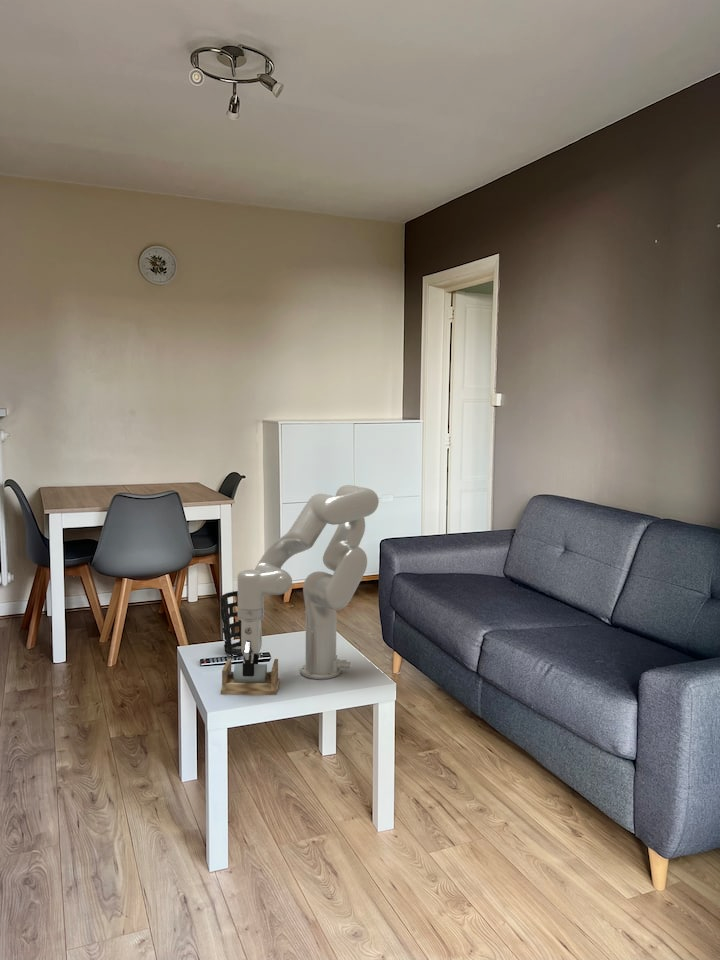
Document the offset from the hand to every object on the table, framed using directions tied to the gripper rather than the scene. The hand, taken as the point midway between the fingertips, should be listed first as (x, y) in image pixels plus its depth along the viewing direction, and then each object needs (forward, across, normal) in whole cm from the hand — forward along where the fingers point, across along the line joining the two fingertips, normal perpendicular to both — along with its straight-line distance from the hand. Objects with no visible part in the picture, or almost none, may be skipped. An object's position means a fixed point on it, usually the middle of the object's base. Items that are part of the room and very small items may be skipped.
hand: (250, 669), depth 212 cm
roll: (+4, 0, 0) cm, 4 cm away
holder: (+6, +31, +10) cm, 33 cm away
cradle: (+5, 0, 0) cm, 5 cm away
